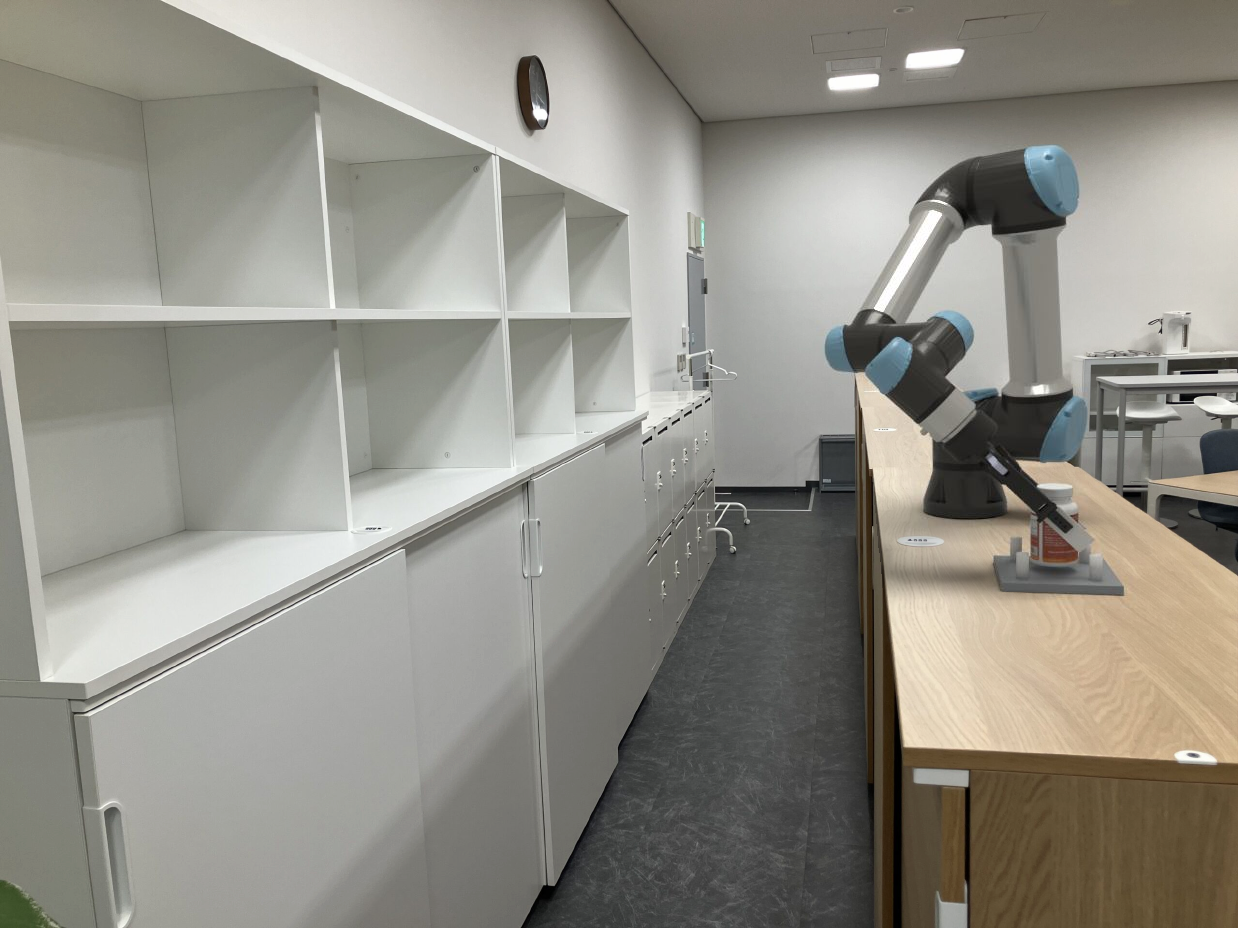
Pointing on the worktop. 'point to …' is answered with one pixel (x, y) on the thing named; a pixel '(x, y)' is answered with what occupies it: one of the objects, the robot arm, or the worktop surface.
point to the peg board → (1056, 574)
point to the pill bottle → (1044, 539)
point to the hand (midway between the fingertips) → (1082, 539)
